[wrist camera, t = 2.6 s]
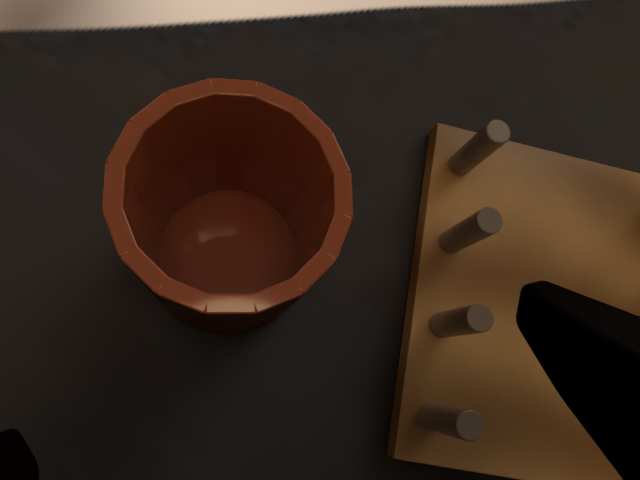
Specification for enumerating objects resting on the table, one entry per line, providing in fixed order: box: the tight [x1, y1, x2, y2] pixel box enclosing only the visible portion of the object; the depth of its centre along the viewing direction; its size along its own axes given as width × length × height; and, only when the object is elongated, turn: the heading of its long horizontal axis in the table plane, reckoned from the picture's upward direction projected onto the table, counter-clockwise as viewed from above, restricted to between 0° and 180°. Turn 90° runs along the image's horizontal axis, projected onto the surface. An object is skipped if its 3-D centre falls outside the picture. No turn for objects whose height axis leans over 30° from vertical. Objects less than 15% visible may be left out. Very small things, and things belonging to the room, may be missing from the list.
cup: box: [102, 78, 353, 334], centre depth 18 cm, size 6×6×8 cm
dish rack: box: [387, 120, 640, 480], centre depth 21 cm, size 14×12×4 cm
